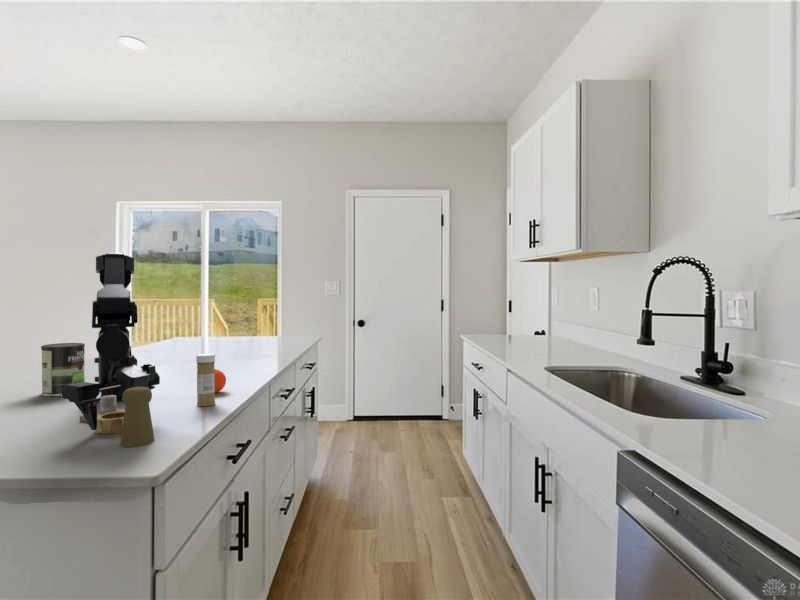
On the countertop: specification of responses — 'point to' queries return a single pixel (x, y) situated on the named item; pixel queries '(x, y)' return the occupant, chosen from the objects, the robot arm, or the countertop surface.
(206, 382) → the sprinkles bottle
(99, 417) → the ring
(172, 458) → the countertop surface
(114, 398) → the peg stand
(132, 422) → the cork
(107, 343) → the robot arm
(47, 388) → the coffee can
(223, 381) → the clementine
